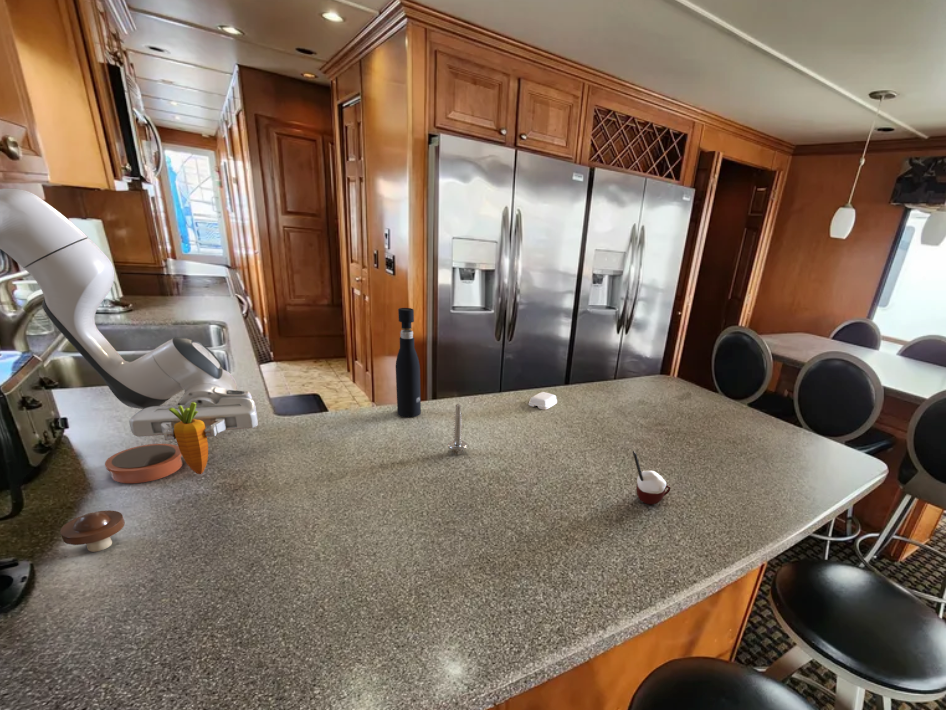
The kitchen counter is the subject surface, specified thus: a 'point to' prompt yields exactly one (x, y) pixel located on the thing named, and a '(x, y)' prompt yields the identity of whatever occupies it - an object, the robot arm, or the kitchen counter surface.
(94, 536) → the mushroom
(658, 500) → the cocoa
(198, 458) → the carrot
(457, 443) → the screw
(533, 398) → the soap
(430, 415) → the kitchen counter surface
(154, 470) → the pot
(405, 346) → the black water bottle
